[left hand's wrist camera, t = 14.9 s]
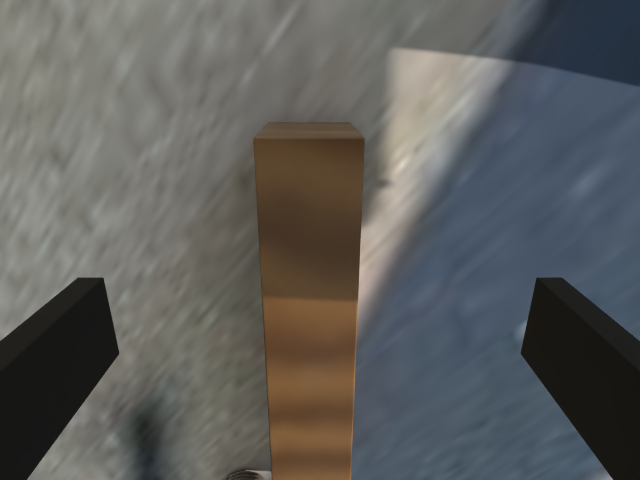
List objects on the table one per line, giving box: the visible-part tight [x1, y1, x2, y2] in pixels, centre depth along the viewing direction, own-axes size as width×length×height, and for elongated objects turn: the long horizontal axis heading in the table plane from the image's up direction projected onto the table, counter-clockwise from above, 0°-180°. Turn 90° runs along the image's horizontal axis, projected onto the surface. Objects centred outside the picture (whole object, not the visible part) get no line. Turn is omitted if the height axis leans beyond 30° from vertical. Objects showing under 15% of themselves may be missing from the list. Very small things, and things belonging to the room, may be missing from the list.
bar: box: [254, 123, 365, 480], centre depth 32 cm, size 34×6×8 cm, turn 0°
